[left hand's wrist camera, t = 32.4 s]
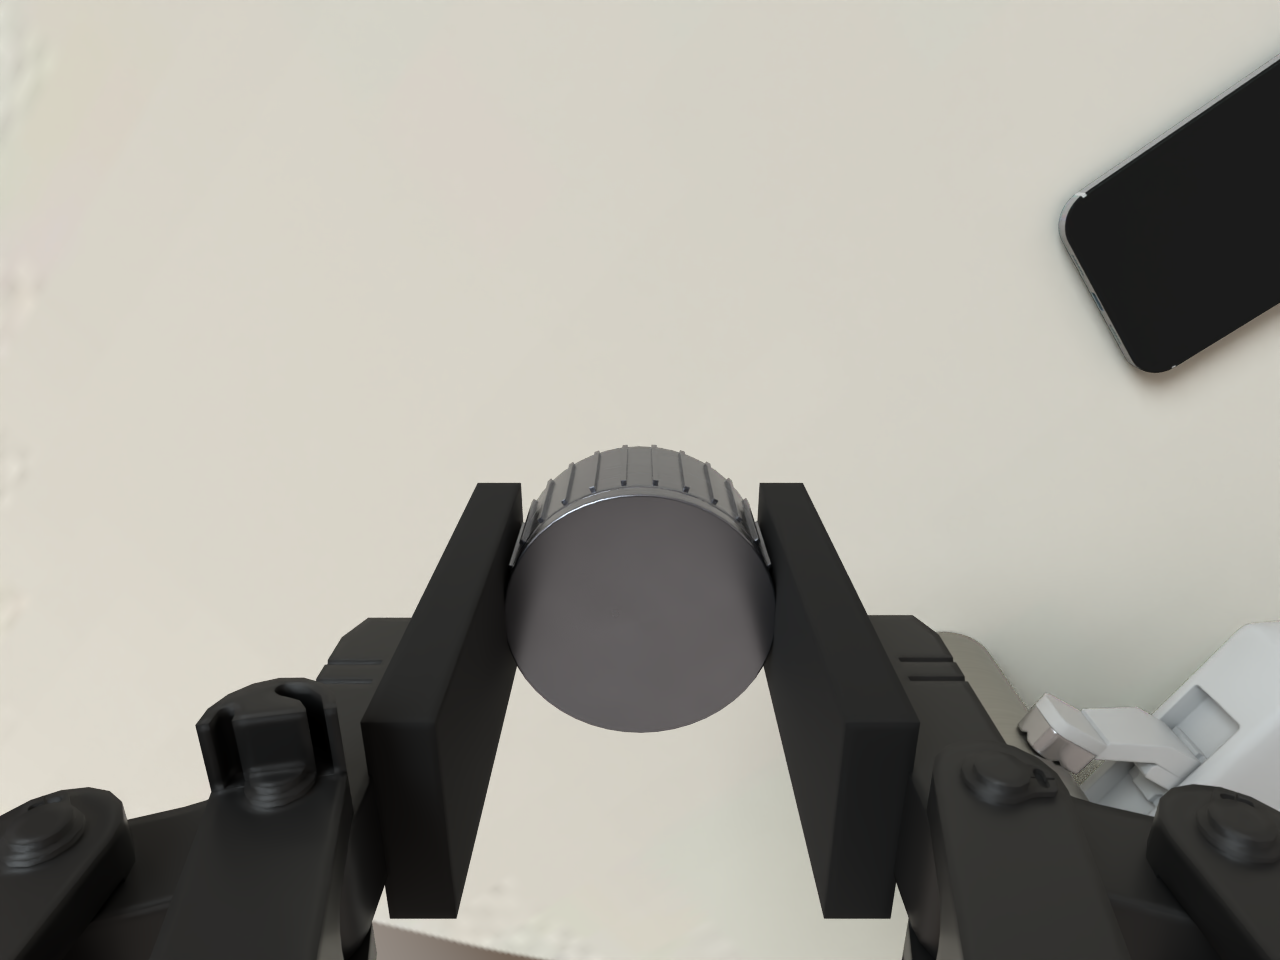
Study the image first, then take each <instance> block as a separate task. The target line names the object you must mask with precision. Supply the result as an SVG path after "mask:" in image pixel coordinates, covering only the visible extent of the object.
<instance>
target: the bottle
mask: <svg viewBox="0 0 1280 960" xmlns="http://www.w3.org/2000/svg"><path fill="white" fill-rule="evenodd" d="M937 634H939V635H940V637H941V639H942V640H943V642H944V644H945V645H946V647H947V648H948V650H949V652H950V653H951V655H952V656H953V662H956V663H957V665H958V666H959V668H960V669H961V671H962V673H963V674H964V676H965V681H968V682H969V684H970V685H971V687H972V689H973V690H974V692H975V694H976V695H977V697H978V698H979V700H980V702H981V703H982V705H983V706H984V708H985V710H986V711H987V713H988V715H989V716H990V718H991V719H992V721H993V723H994V724H995V726H996V727H997V729H998V731H999V732H1000V734H1001V735H1002V737H1003V739H1004V740H1005V742H1006V744H1008V745H1012V746H1015V747H1017V748H1019V749H1021V750H1023V751H1025V752H1027V753H1029V754H1031V755H1034V756H1036V757H1038V758H1039V759H1040V760H1042V761H1043V762H1044V763H1045V764H1046V765H1048V766H1049V767H1050V768H1051V769H1053V770H1054V771H1055V772H1056V773H1057V774H1058V775H1059V777H1060V778H1061V780H1062V781H1063V783H1064V784H1065V786H1066V787H1067V789H1068V791H1069V793H1070V795H1071V796H1073V797H1076V798H1079V799H1082V800H1086V801H1089V800H1088V798H1087V797H1086V795H1085V794H1084V792H1083V791H1082V789H1081V788H1080V786H1079V785H1078V783H1077V782H1076V780H1075V779H1074V778H1073V776H1072V775H1071V773H1070V772H1069V771H1068V770H1066V769H1065V768H1063V767H1062V766H1061V765H1060V764H1059V762H1058V761H1051V760H1048V759H1046V758H1044V757H1043V756H1041V755H1040V754H1039V753H1038V752H1036V751H1035V750H1034V748H1033V747H1032V746H1031V745H1030V744H1029V742H1028V741H1027V734H1026V733H1024V732H1022V731H1021V730H1020V728H1019V726H1018V725H1017V724H1018V723H1019V722H1020V720H1021V719H1022V718H1023V717H1024V716H1025V715H1026V714H1027V713H1028V710H1027V708H1026V707H1025V705H1024V704H1023V702H1022V701H1021V700H1020V698H1019V697H1018V695H1017V694H1016V692H1015V691H1014V689H1013V688H1012V686H1011V685H1010V683H1009V682H1008V680H1007V679H1006V677H1005V676H1004V675H1003V673H1002V672H1001V670H1000V669H999V667H998V666H997V664H996V663H995V661H994V660H993V658H992V657H991V655H990V654H989V653H988V651H987V650H986V649H985V648H984V647H983V646H982V645H981V644H980V643H978V642H977V641H975V640H974V639H972V638H970V637H967V636H964V635H961V634H957V633H949V632H938V633H937ZM1089 802H1090V801H1089Z"/></svg>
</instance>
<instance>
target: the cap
mask: <svg viewBox="0 0 1280 960" xmlns="http://www.w3.org/2000/svg"><path fill="white" fill-rule="evenodd" d="M771 568H773V567H772V564H771V561H770V558H769V555H768V552H767V549H766V545H765V542H764V539H763V536H762V533H761V530H760V527H759V524H758V521H757V522H754V518H753V515H752V512H751V509H750V506H749V502H748V500H747V499H746V498H745V499H744V500H743V499H742V497H741V496H740V494H739V493H738V491H737V490H736V489H735V488H734V487H733V483H732V480H731V479H729V478H728V479H727V480H726V479H725V478H724V477H723V476H722V475H720V474H719V473H718V472H717V471H716V470H714V469H713V468H711V465H710V463H708V462H706V463H703V462H701V461H699V460H697V459H695V458H693V457H690V456H688V455H685V452H684V451H681V450H680V452H676V451H673V450H668V449H663V448H657V445H652V447H641V446H639V447H628V445H623V448H617V449H613V450H608V451H604V452H601V453H600V452H599V451H596V452H595V453H594V455H592V456H590V457H588V458H585V459H584V460H581V461H579V462H577V463H576V464H574V463H573V462H572V463H571V464H569V468H568V469H566V470H565V471H563V472H562V473H561V474H560V475H559V476H558V477H556V478H555V479H554V480H552V479H550V480H549V481H548V483H547V486H546V489H545V490H544V491H543V492H542V493H541V495H540V496H539V498H538V499H537V501H536V500H535V499H533V501H532V503H531V506H530V509H529V512H528V516H527V519H526V522H525V523H524V522H522V525H521V528H520V531H519V534H518V537H517V541H516V544H515V547H514V550H513V553H512V556H511V559H510V562H509V566H508V569H509V570H511V573H510V576H509V580H508V583H507V586H506V589H505V596H504V604H505V619H506V633H507V643H508V646H509V649H510V652H511V654H512V656H513V658H514V660H515V663H516V665H517V666H518V668H519V670H520V671H521V673H522V674H523V676H524V677H525V679H526V680H527V681H528V682H529V683H530V685H531V686H532V687H533V688H534V689H535V690H536V691H537V692H538V693H539V694H540V695H541V696H542V697H543V698H544V699H546V700H547V701H548V702H549V703H551V704H552V705H554V706H555V707H556V708H558V709H559V710H561V711H562V712H564V713H566V714H568V715H570V716H572V717H574V718H575V719H578V720H580V721H583V722H585V723H588V724H591V725H594V726H598V727H601V728H605V729H609V730H616V731H622V732H638V733H643V732H659V731H665V730H671V729H676V728H679V727H683V726H686V725H690V724H693V723H695V722H697V721H700V720H702V719H705V718H707V717H709V716H711V715H712V714H714V713H716V712H718V711H720V710H721V709H723V708H724V707H726V706H727V705H728V704H730V703H731V702H733V701H734V700H735V699H736V698H737V697H738V696H739V695H740V694H741V693H743V692H744V691H745V690H746V689H747V687H748V686H749V685H750V684H751V683H752V682H753V680H754V679H755V678H756V676H757V675H758V673H759V672H760V670H761V669H762V667H763V665H764V664H765V662H766V659H767V657H768V655H769V653H770V651H771V648H772V644H773V640H774V627H775V612H776V593H775V587H774V584H773V581H772V578H771V575H770V571H769V569H771Z"/></svg>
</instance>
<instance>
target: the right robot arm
mask: <svg viewBox="0 0 1280 960" xmlns="http://www.w3.org/2000/svg"><path fill="white" fill-rule="evenodd" d="M1017 725H1018V726H1019V728H1020V730H1021V731H1022V732H1024V733H1026V734H1027V741H1028V742H1029V744H1030V745H1031V746H1032V747H1033V748H1034V750H1035V751H1036V752H1038V753H1039V754H1040V755H1041V756H1043V757H1044V758H1046V759H1048V760H1051V761H1058V762H1059V764H1060V765H1061V766H1062V767H1063V768H1065V769H1066V770H1068V771H1070V772H1072V773H1074V774H1075V775H1077V774H1078V773H1079V772H1080V771H1081V770H1082V769H1083V768H1084V767H1085V766H1086V765H1087V764H1088V763H1090V762H1091V761H1092V760H1093V759H1095V760H1105V761H1104V762H1103V763H1102V764H1101V765H1100V766H1099V767H1098V768H1097V769H1096V770H1095V771H1094V772H1093V773H1092V774H1091V775H1090V776H1089V777H1088V778H1087V779H1086V780H1085V781H1084V782H1083V783H1082V784H1081V785H1080V788H1081V789H1082V791H1083V792H1084V794H1085V795H1086V797H1087V798H1088V800H1089V801H1090V802H1093V803H1096V804H1100V805H1104V806H1109V807H1113V808H1118V809H1122V810H1127V811H1131V812H1136V813H1140V814H1144V815H1149V816H1153V817H1154V816H1155V813H1156V810H1157V806H1158V803H1159V799H1160V798H1161V797H1162V796H1163V795H1164V794H1165V793H1167V792H1168V791H1169V790H1170V789H1171V788H1174V787H1179V786H1184V785H1190V784H1198V785H1208V786H1217V787H1222V788H1225V789H1229V790H1232V791H1235V792H1239V793H1241V794H1244V795H1247V796H1251V797H1253V798H1255V799H1257V800H1258V801H1260V802H1262V803H1264V804H1266V805H1268V806H1270V807H1272V808H1274V809H1276V810H1278V811H1280V621H1266V622H1256V623H1250V624H1246V625H1244V626H1242V627H1241V628H1240V629H1238V630H1237V631H1236V632H1235V633H1234V634H1233V635H1232V636H1231V637H1230V638H1229V639H1228V640H1227V641H1226V642H1225V643H1224V644H1223V645H1222V646H1221V647H1220V648H1219V649H1218V650H1217V651H1216V652H1215V653H1214V654H1213V655H1212V656H1211V657H1210V658H1209V659H1208V660H1207V661H1206V662H1205V663H1204V664H1203V665H1202V666H1201V667H1200V668H1199V669H1198V670H1196V671H1195V672H1194V673H1193V674H1192V675H1191V676H1190V677H1189V678H1188V679H1187V680H1186V681H1185V682H1184V683H1183V684H1182V685H1181V686H1180V687H1179V688H1178V689H1177V690H1176V691H1175V692H1174V693H1173V694H1172V695H1171V696H1170V697H1169V698H1168V699H1167V700H1166V701H1165V702H1164V703H1163V704H1162V705H1161V706H1160V707H1159V708H1158V709H1157V710H1156V711H1155V712H1154V713H1153V714H1152V715H1151V714H1149V713H1147V712H1145V711H1143V710H1142V709H1140V708H1138V707H1113V708H1084V709H1082V710H1081V711H1080V710H1078V709H1076V708H1074V707H1073V706H1071V705H1069V704H1067V703H1065V702H1064V701H1062V700H1060V699H1058V698H1056V697H1055V696H1053V695H1051V694H1048V693H1045V694H1044V695H1043V696H1042V697H1041V698H1040V699H1039V700H1038V702H1037V703H1036V704H1035V705H1034V706H1033V707H1032V708H1031V709H1030V710H1029V711H1028V713H1027V714H1026V715H1025V716H1024V717H1023V718H1022V719H1021V720H1020V722H1019V723H1018V724H1017Z"/></svg>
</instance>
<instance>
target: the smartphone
mask: <svg viewBox="0 0 1280 960" xmlns="http://www.w3.org/2000/svg"><path fill="white" fill-rule="evenodd" d="M1059 234H1060V237H1061V239H1062V241H1063V243H1064V245H1065V247H1066V249H1067V251H1068V253H1069V254H1070V256H1071V258H1072V260H1073V262H1074V264H1075V265H1076V267H1077V269H1078V271H1079V273H1080V275H1081V277H1082V278H1083V280H1084V282H1085V284H1086V286H1087V288H1088V289H1089V291H1090V293H1091V295H1092V297H1093V299H1094V301H1095V302H1096V304H1097V306H1098V308H1099V310H1100V312H1101V314H1102V315H1103V317H1104V319H1105V321H1106V323H1107V325H1108V326H1109V328H1110V330H1111V332H1112V334H1113V336H1114V338H1115V339H1116V341H1117V343H1118V345H1119V347H1120V349H1121V350H1122V352H1123V354H1124V356H1125V358H1126V359H1127V361H1128V362H1129V363H1130V364H1132V365H1133V366H1135V367H1137V368H1139V369H1141V370H1143V371H1146V372H1151V373H1159V372H1164V371H1167V370H1170V369H1172V368H1174V367H1176V366H1177V365H1179V364H1181V363H1182V362H1184V361H1186V360H1187V359H1189V358H1190V357H1192V356H1194V355H1195V354H1197V353H1199V352H1200V351H1202V350H1203V349H1205V348H1207V347H1208V346H1210V345H1212V344H1213V343H1215V342H1216V341H1218V340H1220V339H1221V338H1223V337H1225V336H1226V335H1228V334H1229V333H1231V332H1233V331H1234V330H1236V329H1238V328H1239V327H1241V326H1243V325H1244V324H1246V323H1247V322H1249V321H1251V320H1252V319H1254V318H1256V317H1257V316H1259V315H1260V314H1262V313H1264V312H1265V311H1267V310H1269V309H1270V308H1272V307H1273V306H1275V305H1277V304H1278V303H1280V54H1278V55H1277V56H1276V57H1274V58H1273V59H1271V60H1270V61H1268V62H1267V63H1265V64H1264V65H1262V66H1261V67H1260V68H1258V69H1257V70H1255V71H1254V72H1252V73H1251V74H1249V75H1248V76H1246V77H1245V78H1244V79H1242V80H1241V81H1239V82H1238V83H1236V84H1235V85H1233V86H1232V87H1230V88H1229V89H1227V90H1226V91H1225V92H1223V93H1222V94H1220V95H1219V96H1217V97H1216V98H1214V99H1213V100H1211V101H1210V102H1209V103H1207V104H1206V105H1204V106H1203V107H1201V108H1200V109H1198V110H1197V111H1195V112H1194V113H1193V114H1191V115H1190V116H1188V117H1187V118H1185V119H1184V120H1182V121H1181V122H1179V123H1178V124H1176V125H1175V126H1174V127H1172V128H1171V129H1169V130H1168V131H1166V132H1165V133H1163V134H1162V135H1160V136H1159V137H1158V138H1156V139H1155V140H1153V141H1152V142H1150V143H1149V144H1147V145H1146V146H1144V147H1143V148H1142V149H1140V150H1139V151H1137V152H1136V153H1134V154H1133V155H1131V156H1130V157H1128V158H1127V159H1125V160H1124V161H1123V162H1121V163H1120V164H1118V165H1117V166H1115V167H1114V168H1112V169H1111V170H1109V171H1108V172H1107V173H1105V174H1104V175H1102V176H1101V177H1099V178H1098V179H1096V180H1095V181H1093V182H1092V183H1091V184H1089V185H1088V186H1086V187H1085V188H1083V189H1082V190H1080V191H1079V192H1077V193H1076V194H1075V195H1074V196H1073V197H1072V198H1071V199H1070V200H1069V201H1068V202H1067V203H1066V205H1065V206H1064V208H1063V210H1062V213H1061V215H1060V219H1059Z"/></svg>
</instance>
